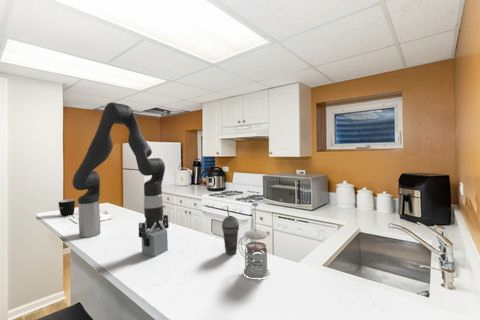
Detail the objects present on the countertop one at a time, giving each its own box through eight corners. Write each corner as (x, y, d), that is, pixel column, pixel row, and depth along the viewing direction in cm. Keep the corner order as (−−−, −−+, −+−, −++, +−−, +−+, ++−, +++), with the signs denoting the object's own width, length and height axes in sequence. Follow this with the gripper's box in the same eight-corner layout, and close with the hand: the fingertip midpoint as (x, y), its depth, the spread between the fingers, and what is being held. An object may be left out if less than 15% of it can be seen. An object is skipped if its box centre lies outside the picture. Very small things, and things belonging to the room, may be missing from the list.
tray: (80, 226, 141) (80, 220, 141) (66, 220, 160) (66, 214, 159) (116, 218, 157) (116, 213, 157) (100, 213, 175) (99, 208, 175)
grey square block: (142, 253, 102) (141, 233, 101) (155, 247, 108) (154, 228, 108) (154, 257, 98) (154, 236, 98) (167, 250, 105) (167, 230, 104)
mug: (57, 215, 164) (56, 201, 164) (72, 212, 172) (71, 198, 171) (64, 218, 157) (63, 203, 157) (79, 215, 165) (78, 200, 164)
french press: (262, 283, 78) (261, 207, 77) (232, 274, 84) (231, 203, 83) (274, 270, 86) (274, 201, 85) (246, 262, 92) (245, 197, 91)
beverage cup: (237, 257, 97) (236, 208, 96) (220, 256, 98) (219, 207, 97) (241, 249, 104) (240, 204, 103) (224, 248, 105) (223, 203, 104)
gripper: (159, 201, 110) (161, 235, 111) (133, 208, 98) (134, 247, 99) (172, 202, 107) (173, 238, 108) (146, 210, 94) (147, 250, 95)
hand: (155, 242), depth 103 cm, fingers open, 8 cm apart
